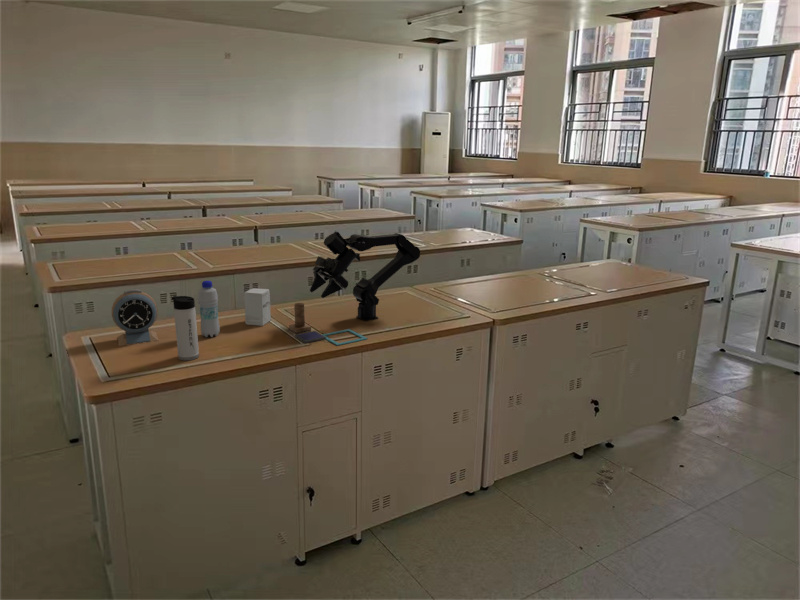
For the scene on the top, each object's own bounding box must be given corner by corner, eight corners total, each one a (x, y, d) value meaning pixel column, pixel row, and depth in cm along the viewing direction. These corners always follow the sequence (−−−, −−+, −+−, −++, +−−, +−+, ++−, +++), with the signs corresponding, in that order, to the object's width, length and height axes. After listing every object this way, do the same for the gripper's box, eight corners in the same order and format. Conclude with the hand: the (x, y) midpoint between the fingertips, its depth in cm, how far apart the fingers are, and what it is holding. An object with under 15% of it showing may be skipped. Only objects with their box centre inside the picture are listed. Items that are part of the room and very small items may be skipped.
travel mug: (180, 353, 184) (175, 294, 178) (201, 353, 184) (196, 294, 179) (174, 361, 178) (168, 299, 172) (196, 360, 178) (191, 299, 173)
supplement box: (263, 326, 213) (261, 293, 209) (245, 324, 214) (243, 292, 211) (271, 320, 220) (270, 288, 216) (253, 319, 221) (252, 287, 218)
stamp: (303, 326, 213) (302, 300, 210) (311, 331, 208) (310, 303, 206) (289, 329, 210) (288, 302, 207) (296, 333, 205) (295, 306, 202)
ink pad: (315, 333, 206) (315, 330, 206) (325, 339, 200) (325, 336, 200) (295, 337, 201) (294, 334, 201) (305, 343, 195) (305, 340, 195)
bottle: (224, 333, 203) (220, 279, 198) (212, 339, 197) (208, 283, 192) (208, 331, 206) (204, 277, 200) (196, 337, 199) (192, 281, 194)
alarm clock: (115, 346, 189) (109, 295, 184) (114, 337, 197) (108, 288, 193) (161, 340, 196) (156, 290, 191) (158, 332, 204) (154, 284, 199)
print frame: (349, 329, 210) (349, 328, 210) (367, 339, 201) (367, 338, 201) (319, 336, 203) (319, 334, 203) (337, 345, 193) (337, 344, 193)
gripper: (316, 244, 215) (290, 276, 212) (340, 252, 201) (313, 286, 197) (335, 262, 222) (310, 293, 219) (359, 272, 207) (333, 305, 204)
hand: (316, 294), depth 209 cm, fingers open, 9 cm apart
